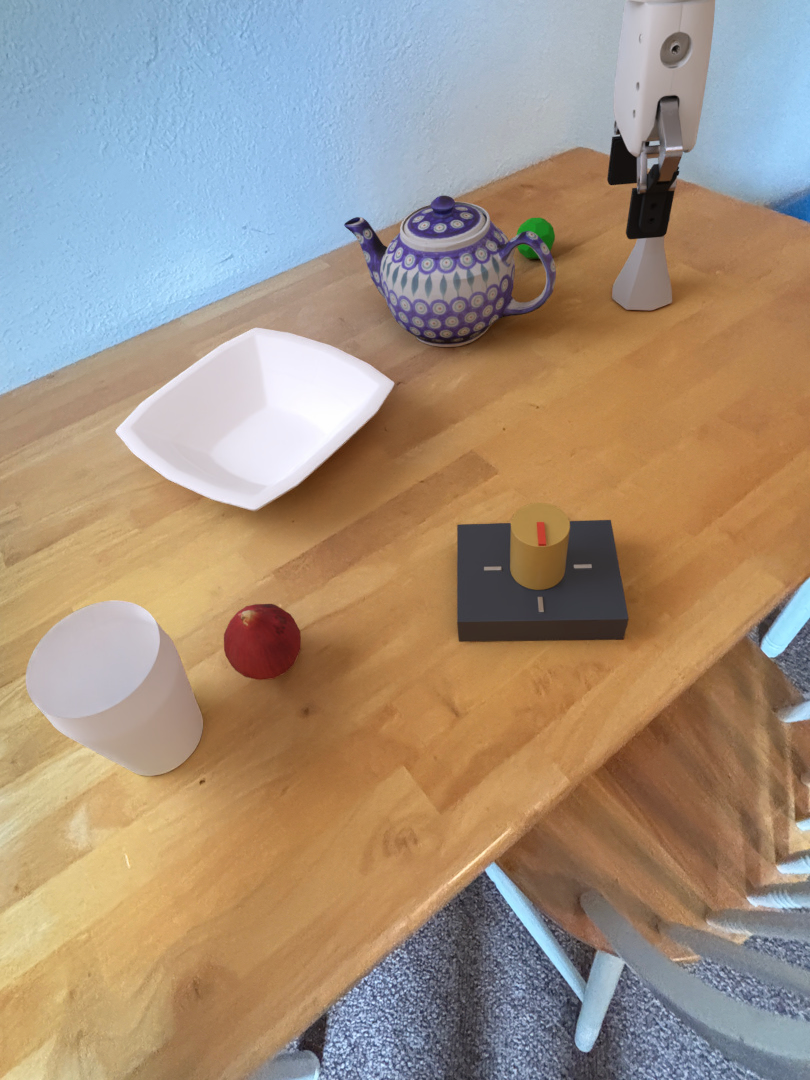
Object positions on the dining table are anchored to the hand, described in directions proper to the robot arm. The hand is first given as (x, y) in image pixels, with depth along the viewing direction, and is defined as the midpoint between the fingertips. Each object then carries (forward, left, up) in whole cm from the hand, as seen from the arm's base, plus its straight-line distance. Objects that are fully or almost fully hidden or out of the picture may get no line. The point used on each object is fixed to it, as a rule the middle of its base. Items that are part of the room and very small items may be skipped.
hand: (634, 208), depth 62 cm
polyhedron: (+6, -27, -19) cm, 33 cm away
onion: (+31, +34, -19) cm, 50 cm away
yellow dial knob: (+10, +27, -16) cm, 33 cm away
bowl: (+36, +8, -19) cm, 42 cm away
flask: (-6, -16, -19) cm, 25 cm away
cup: (+39, +40, -19) cm, 59 cm away
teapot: (+17, -13, -19) cm, 28 cm away
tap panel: (+10, +27, -19) cm, 34 cm away
